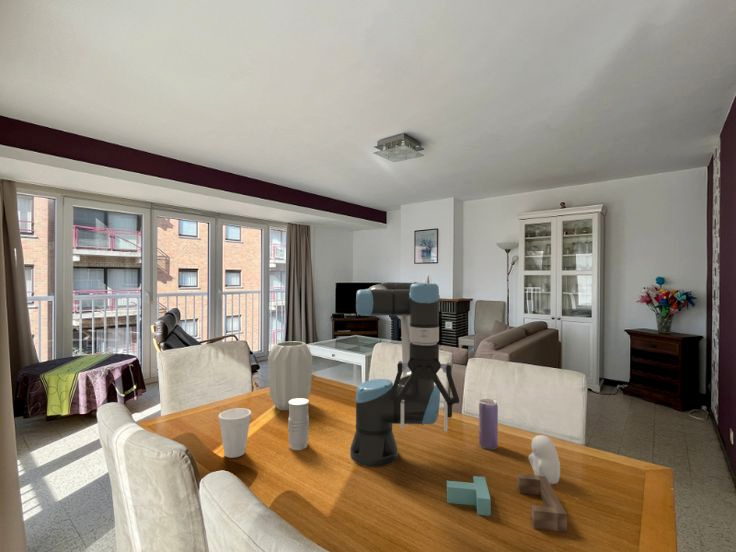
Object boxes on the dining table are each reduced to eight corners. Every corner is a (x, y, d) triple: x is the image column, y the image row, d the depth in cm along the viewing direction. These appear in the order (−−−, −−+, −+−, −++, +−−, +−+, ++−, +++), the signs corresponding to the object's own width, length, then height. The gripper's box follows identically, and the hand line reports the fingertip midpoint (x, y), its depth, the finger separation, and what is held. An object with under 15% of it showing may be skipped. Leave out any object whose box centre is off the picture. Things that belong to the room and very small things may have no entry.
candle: (283, 446, 125) (283, 401, 125) (300, 439, 130) (300, 396, 130) (296, 452, 121) (296, 406, 121) (313, 445, 126) (313, 401, 126)
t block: (447, 511, 91) (447, 495, 91) (446, 488, 101) (446, 473, 101) (490, 515, 89) (490, 499, 89) (484, 492, 99) (484, 477, 99)
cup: (211, 458, 117) (211, 416, 117) (232, 445, 126) (233, 406, 126) (237, 464, 113) (237, 421, 113) (257, 449, 123) (257, 410, 123)
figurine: (526, 472, 109) (526, 431, 109) (551, 471, 110) (551, 430, 110) (539, 485, 102) (539, 441, 102) (565, 484, 103) (565, 441, 103)
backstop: (533, 528, 85) (533, 510, 85) (517, 488, 101) (517, 473, 101) (566, 531, 84) (567, 514, 84) (545, 491, 100) (545, 476, 100)
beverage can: (498, 451, 122) (498, 405, 122) (479, 449, 124) (480, 404, 124) (496, 443, 128) (496, 399, 128) (478, 441, 130) (478, 398, 130)
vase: (308, 414, 154) (308, 348, 154) (261, 414, 154) (261, 347, 154) (315, 399, 174) (315, 340, 174) (273, 398, 174) (274, 339, 174)
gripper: (378, 343, 95) (378, 430, 95) (471, 346, 91) (471, 437, 91) (382, 338, 103) (381, 419, 103) (468, 341, 99) (467, 425, 99)
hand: (423, 427), depth 97 cm, fingers open, 10 cm apart
